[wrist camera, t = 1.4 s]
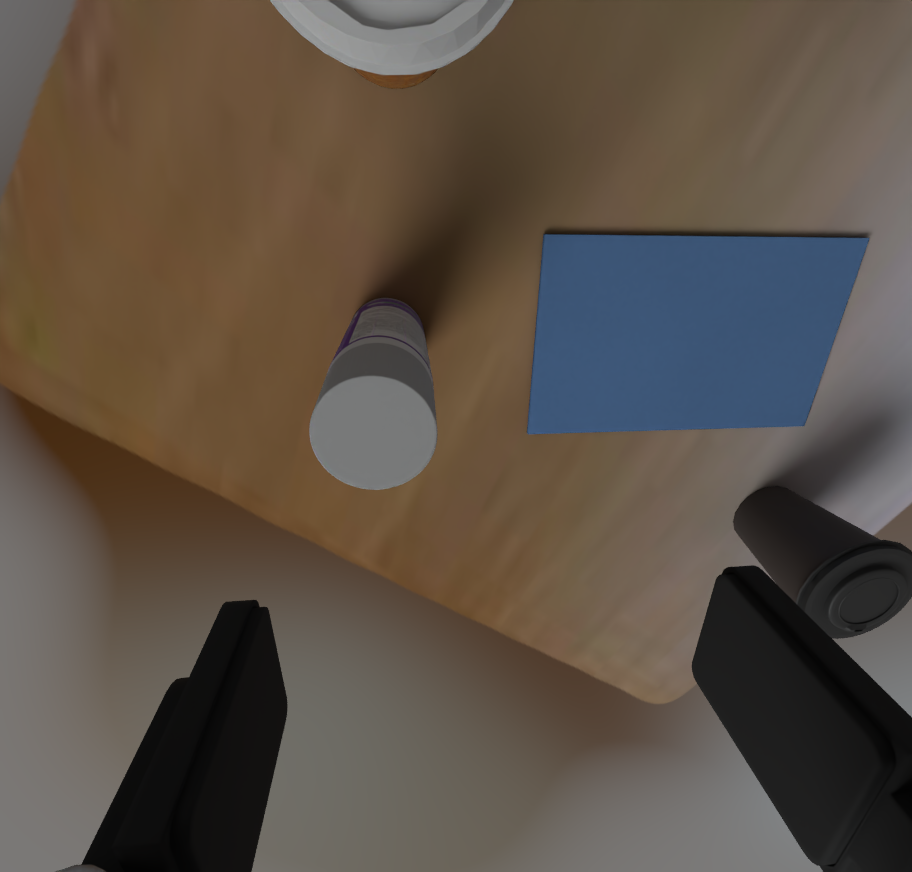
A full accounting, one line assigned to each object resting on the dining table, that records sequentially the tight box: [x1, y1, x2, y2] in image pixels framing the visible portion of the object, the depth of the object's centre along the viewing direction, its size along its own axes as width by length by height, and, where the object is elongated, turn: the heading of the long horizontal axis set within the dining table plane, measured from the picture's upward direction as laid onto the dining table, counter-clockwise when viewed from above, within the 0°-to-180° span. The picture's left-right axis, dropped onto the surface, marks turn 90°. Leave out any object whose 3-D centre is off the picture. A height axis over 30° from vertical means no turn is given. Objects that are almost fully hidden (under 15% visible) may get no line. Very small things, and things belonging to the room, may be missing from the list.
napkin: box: [527, 234, 869, 434], centre depth 32 cm, size 13×21×1 cm, turn 89°
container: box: [310, 298, 437, 490], centre depth 24 cm, size 5×5×15 cm
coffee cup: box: [733, 486, 912, 638], centre depth 35 cm, size 8×8×10 cm
